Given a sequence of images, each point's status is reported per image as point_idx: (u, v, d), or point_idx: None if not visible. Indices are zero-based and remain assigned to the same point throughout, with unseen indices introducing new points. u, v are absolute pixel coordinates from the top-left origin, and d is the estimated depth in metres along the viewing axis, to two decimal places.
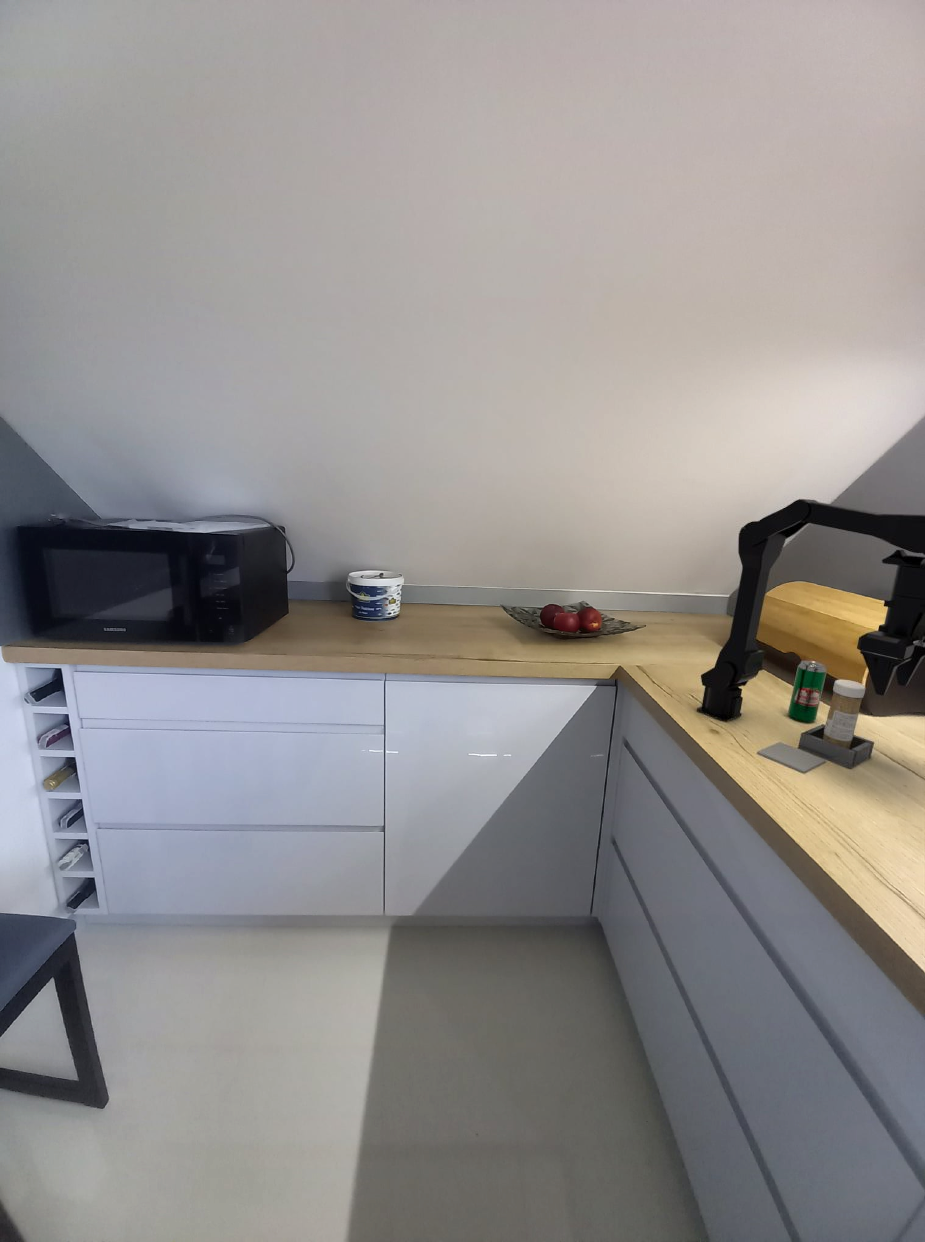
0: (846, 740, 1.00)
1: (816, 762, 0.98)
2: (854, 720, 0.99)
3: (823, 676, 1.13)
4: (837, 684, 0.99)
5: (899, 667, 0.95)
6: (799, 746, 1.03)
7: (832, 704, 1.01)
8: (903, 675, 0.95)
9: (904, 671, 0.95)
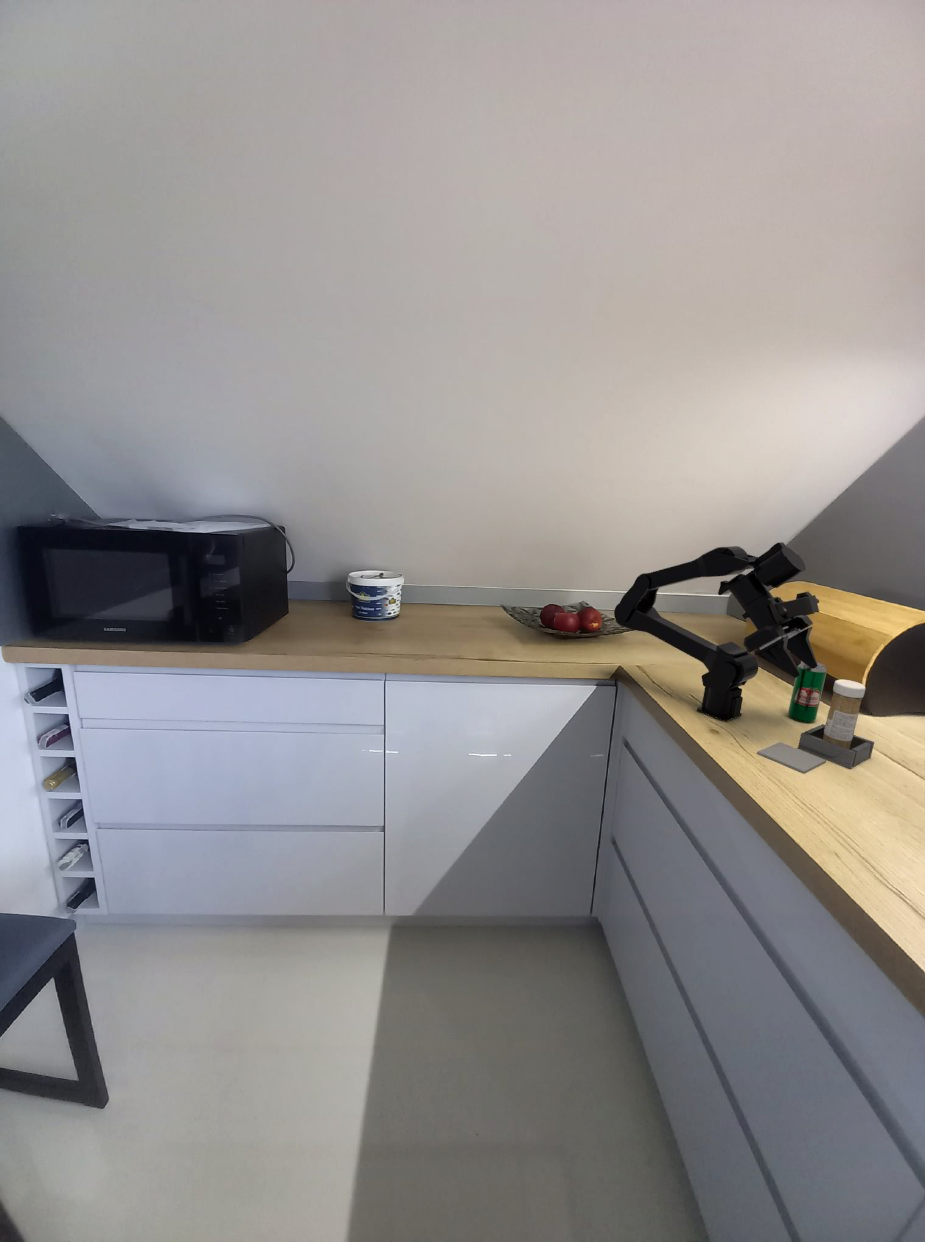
0: (846, 740, 1.00)
1: (816, 762, 0.98)
2: (854, 720, 0.99)
3: (823, 676, 1.13)
4: (837, 684, 0.99)
5: (801, 656, 1.09)
6: (799, 746, 1.03)
7: (832, 704, 1.01)
8: (808, 659, 1.08)
9: (806, 656, 1.08)
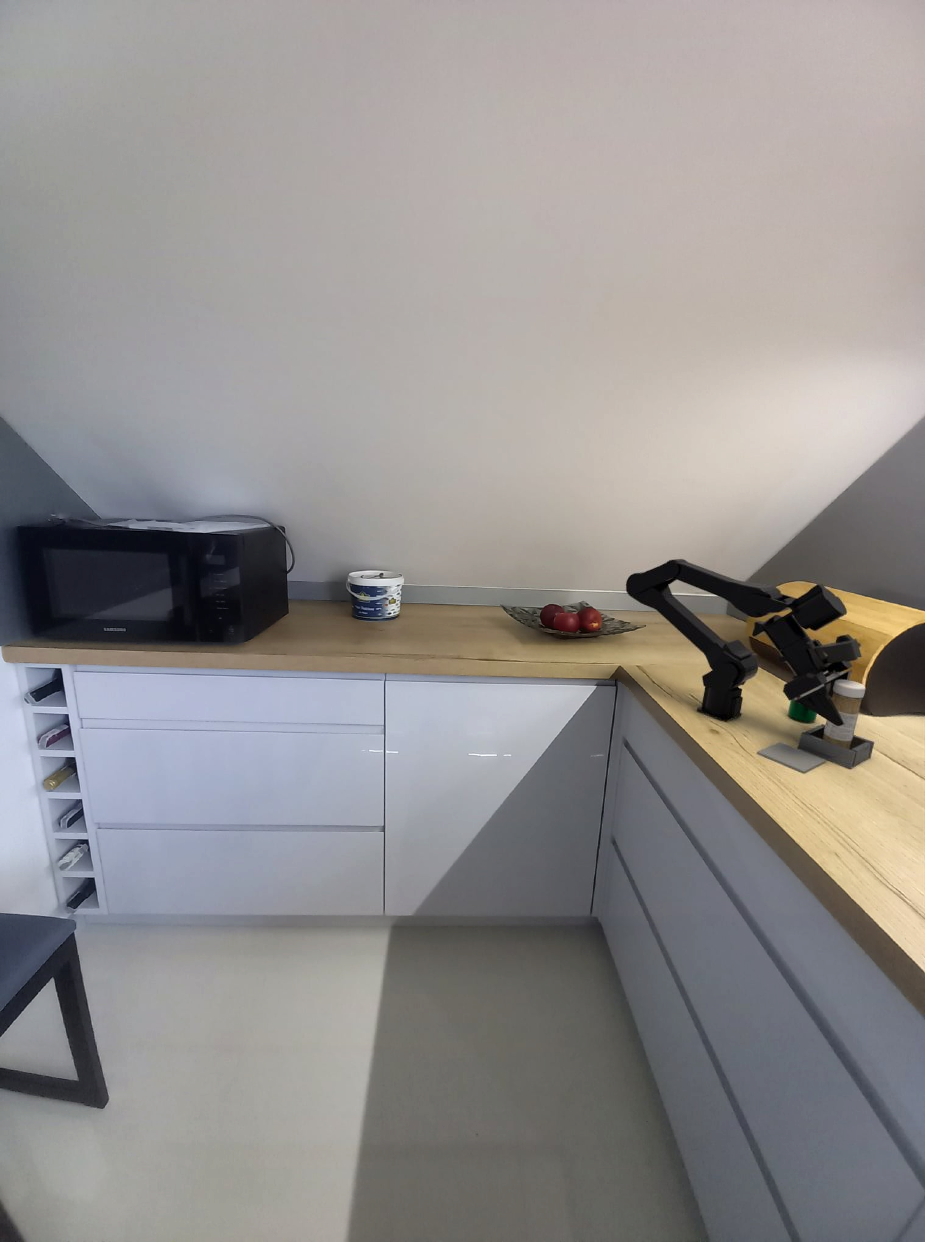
0: (846, 740, 1.00)
1: (816, 762, 0.98)
2: (854, 720, 0.99)
3: None
4: (837, 684, 0.99)
5: None
6: (799, 746, 1.03)
7: None
8: None
9: None
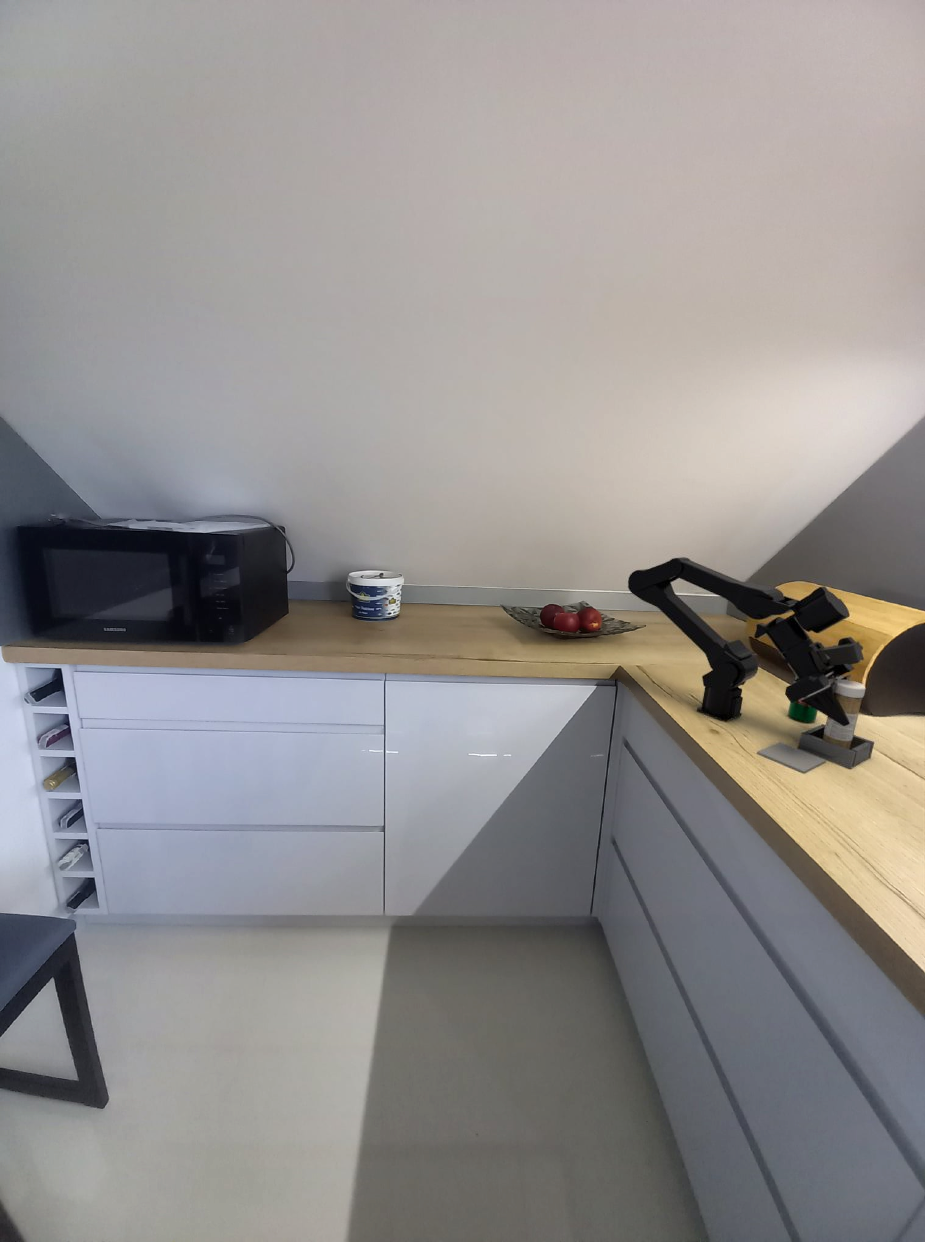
0: (846, 740, 1.00)
1: (816, 762, 0.98)
2: (855, 720, 0.99)
3: None
4: (837, 684, 0.99)
5: None
6: (799, 746, 1.03)
7: None
8: None
9: None
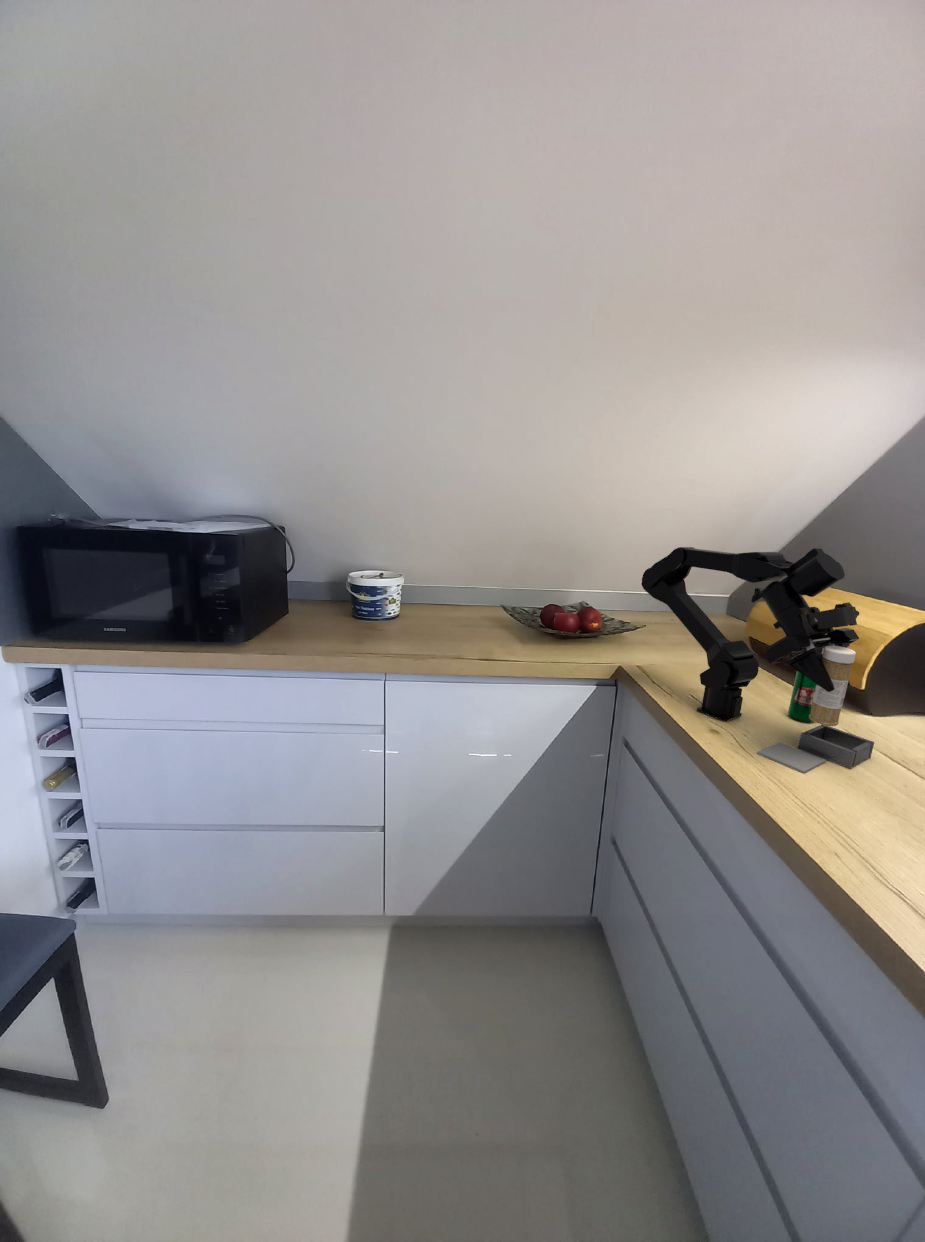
0: (832, 708, 0.96)
1: (816, 762, 0.98)
2: (842, 687, 0.95)
3: None
4: (825, 649, 0.96)
5: None
6: (799, 746, 1.03)
7: None
8: None
9: None
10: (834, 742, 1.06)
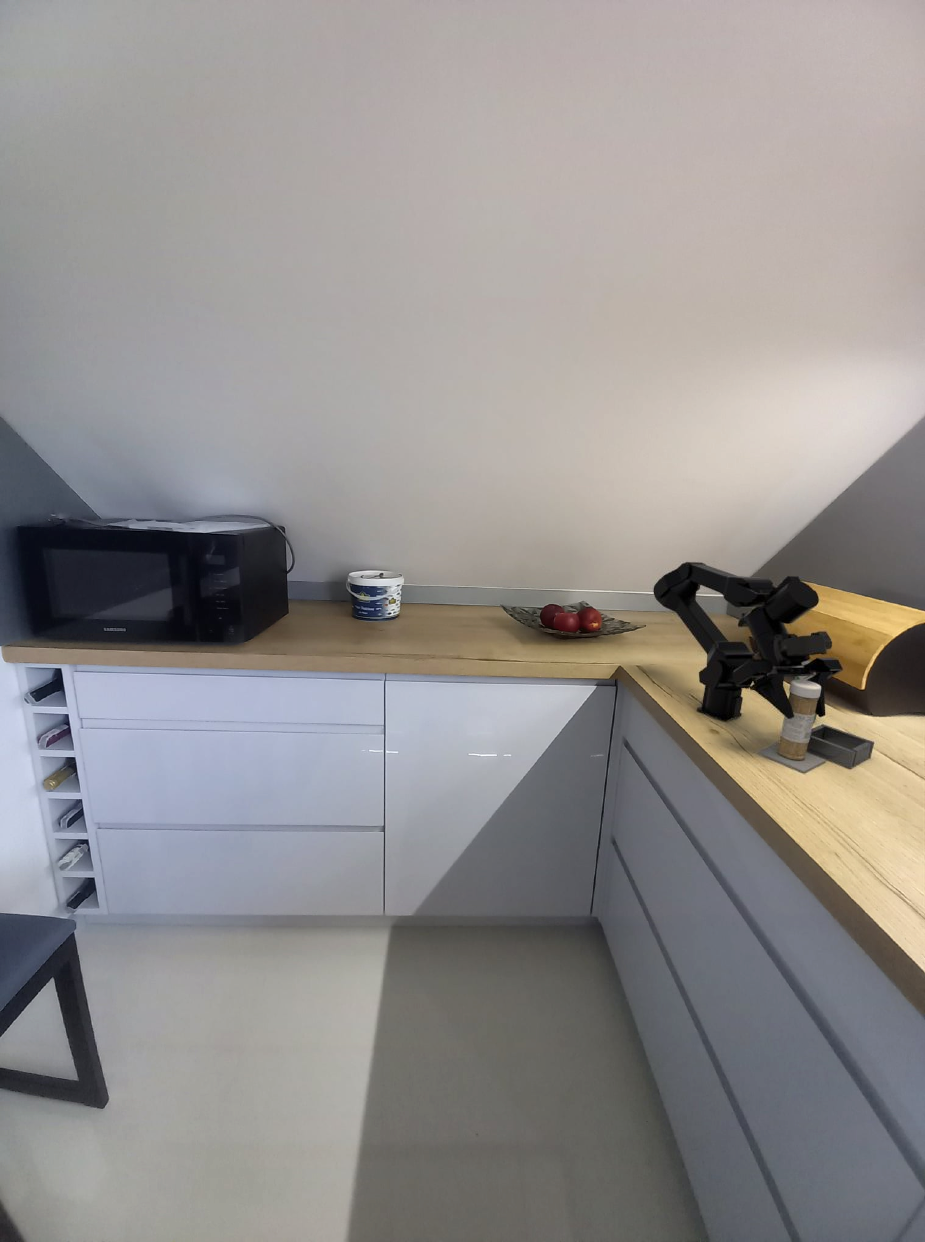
0: (795, 741, 0.97)
1: (816, 762, 0.98)
2: (805, 721, 0.96)
3: None
4: None
5: None
6: None
7: None
8: (816, 706, 0.98)
9: None
10: (834, 742, 1.06)
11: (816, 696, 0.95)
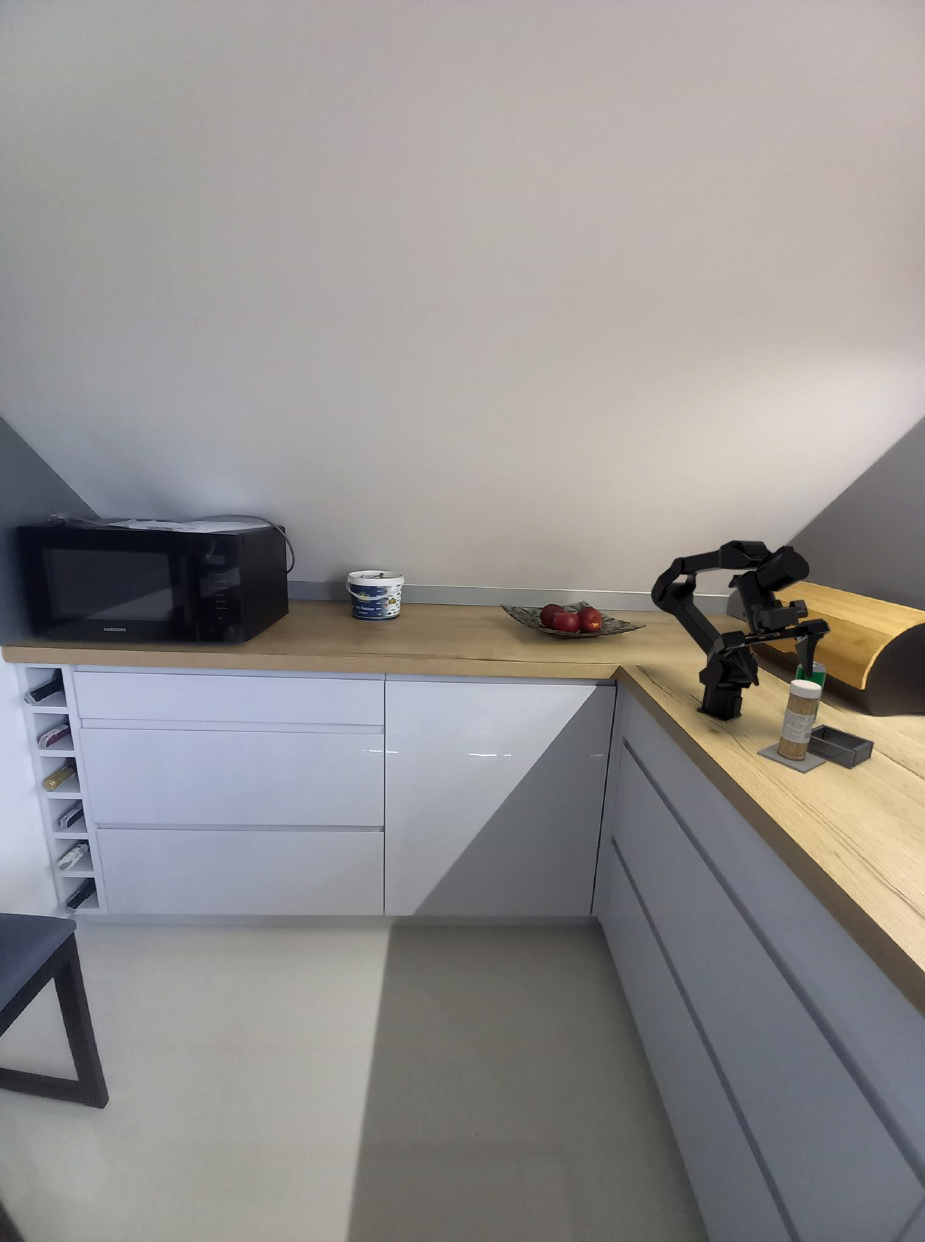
0: (795, 742, 0.97)
1: (816, 762, 0.98)
2: (805, 722, 0.96)
3: (823, 676, 1.13)
4: (791, 683, 0.98)
5: (802, 663, 1.04)
6: None
7: None
8: (805, 669, 1.02)
9: (805, 665, 1.03)
10: (834, 742, 1.06)
11: (816, 696, 0.95)
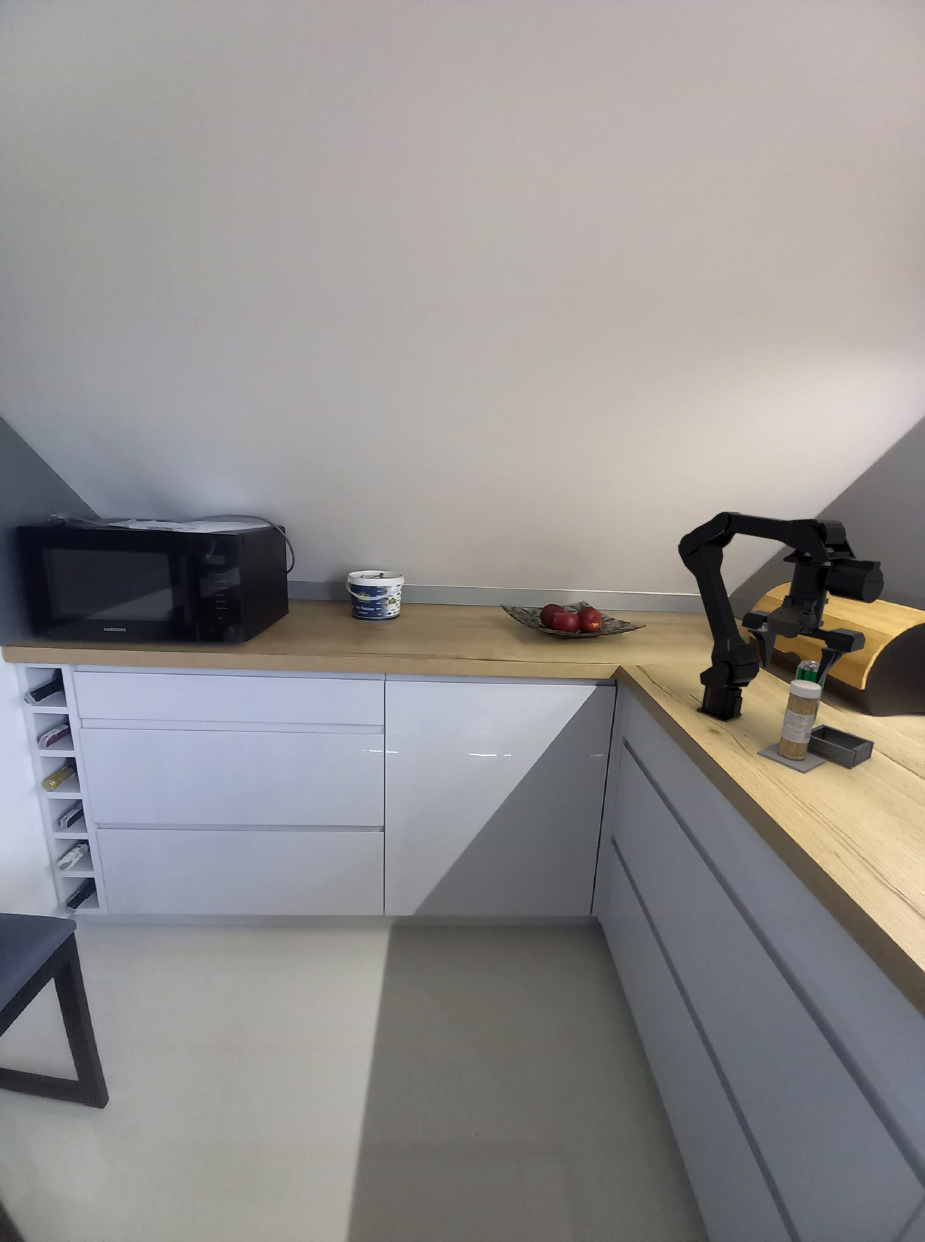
0: (795, 742, 0.97)
1: (816, 762, 0.98)
2: (805, 722, 0.96)
3: None
4: None
5: None
6: None
7: None
8: None
9: None
10: (834, 742, 1.06)
11: (816, 696, 0.95)
